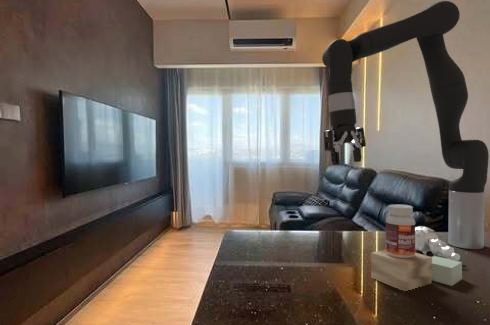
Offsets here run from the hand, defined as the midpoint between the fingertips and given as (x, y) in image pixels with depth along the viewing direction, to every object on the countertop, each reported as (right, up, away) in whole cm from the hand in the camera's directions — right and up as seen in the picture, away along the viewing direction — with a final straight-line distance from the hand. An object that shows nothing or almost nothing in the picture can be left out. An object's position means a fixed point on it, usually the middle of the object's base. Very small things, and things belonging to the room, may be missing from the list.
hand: (347, 163), depth 97 cm
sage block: (+15, -27, -21) cm, 38 cm away
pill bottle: (+5, -21, -22) cm, 31 cm away
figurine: (+23, -27, -5) cm, 35 cm away
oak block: (+5, -27, -22) cm, 35 cm away
